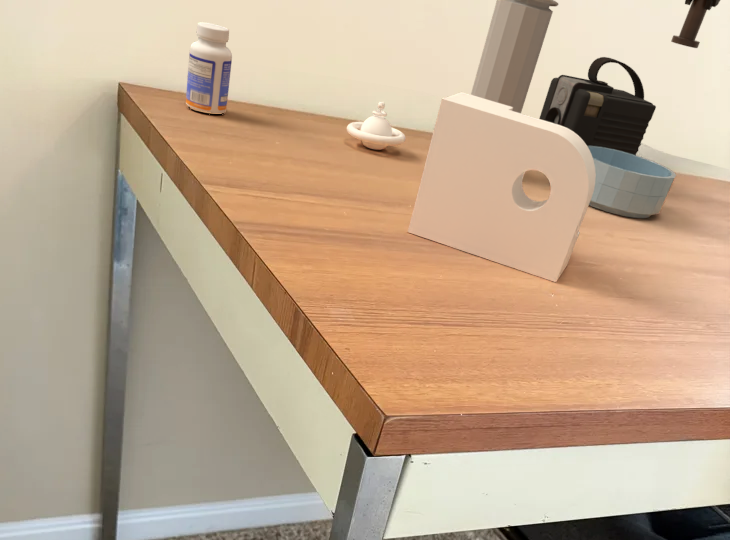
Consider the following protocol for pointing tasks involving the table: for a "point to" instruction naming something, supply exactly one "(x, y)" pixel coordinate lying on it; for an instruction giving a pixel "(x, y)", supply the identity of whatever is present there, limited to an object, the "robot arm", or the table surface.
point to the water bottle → (512, 51)
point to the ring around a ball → (376, 131)
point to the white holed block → (503, 186)
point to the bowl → (629, 183)
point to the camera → (599, 109)
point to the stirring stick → (691, 25)
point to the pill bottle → (209, 69)
